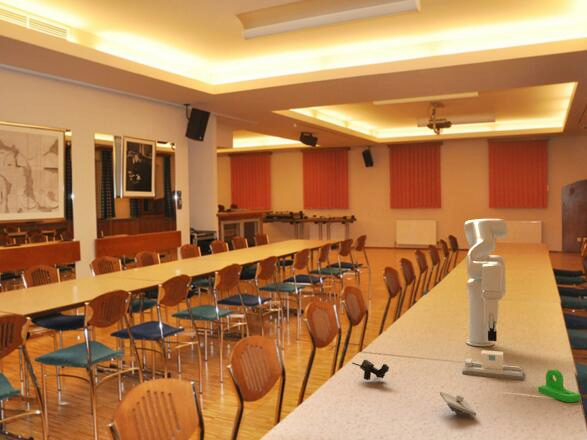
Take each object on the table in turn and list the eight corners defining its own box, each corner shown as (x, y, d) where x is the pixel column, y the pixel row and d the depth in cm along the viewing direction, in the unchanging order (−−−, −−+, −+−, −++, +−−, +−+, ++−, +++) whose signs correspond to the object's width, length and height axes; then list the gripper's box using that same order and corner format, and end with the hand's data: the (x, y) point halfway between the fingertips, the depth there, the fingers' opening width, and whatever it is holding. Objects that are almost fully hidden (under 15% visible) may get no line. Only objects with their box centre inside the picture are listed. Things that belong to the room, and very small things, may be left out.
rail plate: (464, 366, 217) (464, 356, 217) (522, 372, 208) (522, 362, 208) (462, 373, 208) (462, 363, 207) (522, 380, 199) (522, 369, 199)
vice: (390, 390, 203) (371, 374, 212) (401, 371, 203) (381, 355, 211) (362, 385, 192) (343, 368, 200) (374, 364, 191) (354, 348, 200)
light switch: (466, 404, 175) (466, 389, 174) (477, 417, 165) (477, 401, 165) (438, 405, 175) (438, 389, 174) (447, 417, 165) (448, 401, 165)
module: (482, 367, 212) (482, 350, 212) (503, 369, 209) (503, 351, 208) (481, 370, 207) (481, 353, 207) (502, 373, 204) (502, 355, 204)
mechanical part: (538, 392, 186) (538, 370, 186) (549, 389, 189) (549, 367, 189) (568, 403, 176) (568, 379, 175) (580, 400, 178) (580, 376, 178)
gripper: (483, 291, 215) (483, 335, 216) (480, 297, 202) (480, 344, 202) (502, 292, 212) (503, 337, 213) (501, 298, 199) (501, 346, 199)
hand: (492, 340), depth 207 cm, fingers closed
